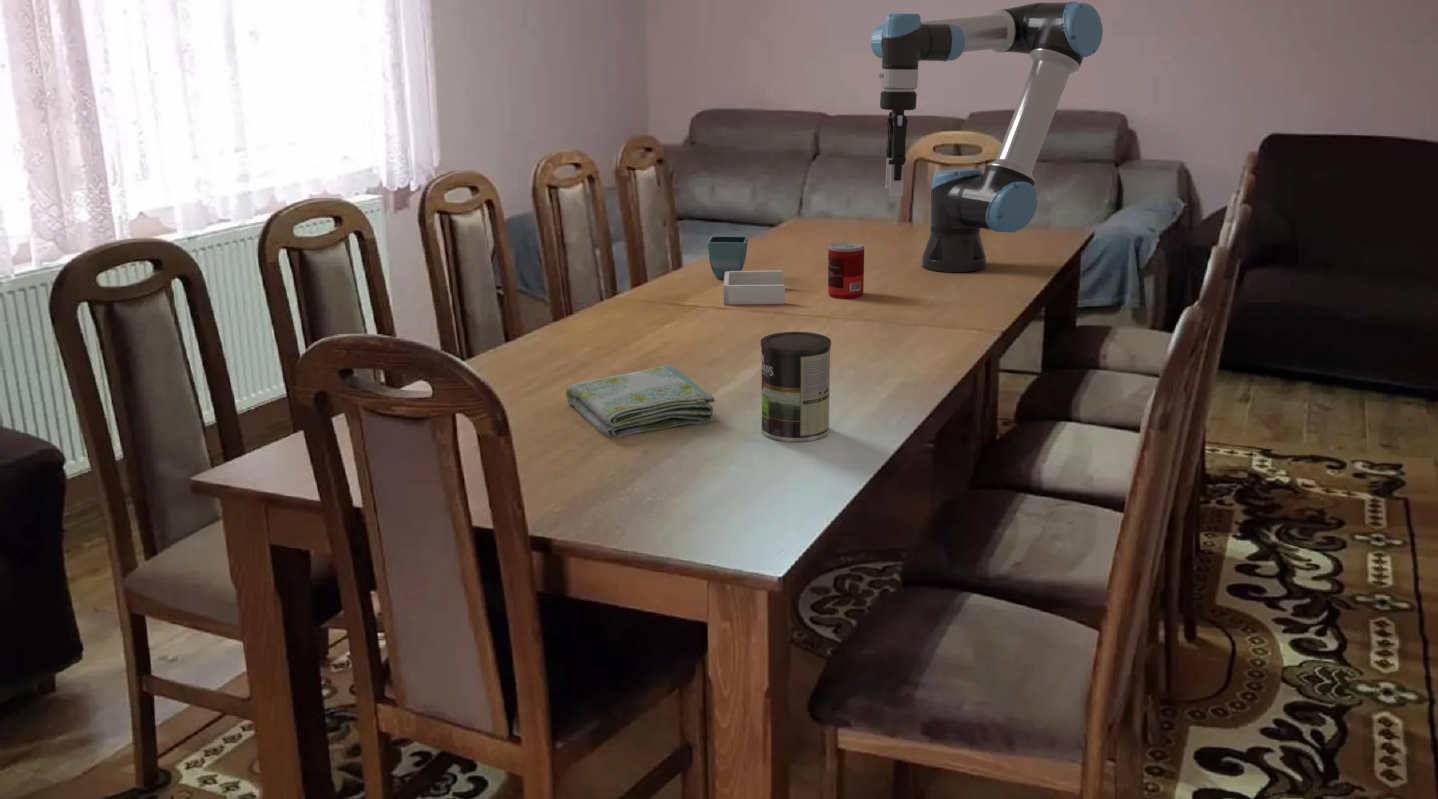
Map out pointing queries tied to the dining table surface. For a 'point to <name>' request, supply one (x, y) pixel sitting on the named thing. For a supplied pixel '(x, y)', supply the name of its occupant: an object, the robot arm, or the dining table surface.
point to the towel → (641, 401)
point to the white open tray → (754, 287)
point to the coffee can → (795, 386)
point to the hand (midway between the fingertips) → (893, 192)
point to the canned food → (846, 270)
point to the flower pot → (727, 254)
